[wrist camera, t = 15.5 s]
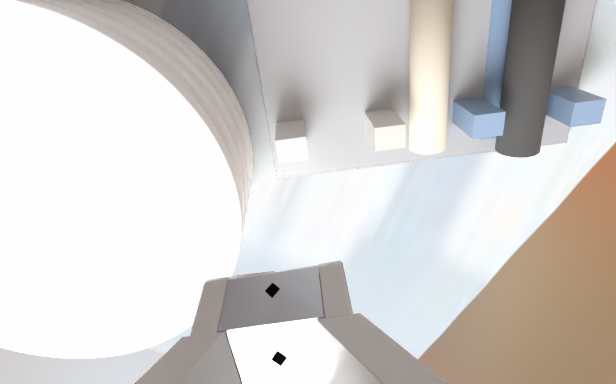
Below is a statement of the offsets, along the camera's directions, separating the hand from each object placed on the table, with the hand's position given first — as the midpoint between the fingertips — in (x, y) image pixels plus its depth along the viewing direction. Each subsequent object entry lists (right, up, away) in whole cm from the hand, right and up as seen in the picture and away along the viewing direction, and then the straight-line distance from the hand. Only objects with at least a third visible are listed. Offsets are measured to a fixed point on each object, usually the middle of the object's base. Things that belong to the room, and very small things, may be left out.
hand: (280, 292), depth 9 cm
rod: (+11, +13, +25) cm, 30 cm away
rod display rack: (+10, +14, +26) cm, 31 cm away
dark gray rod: (+18, +14, +25) cm, 34 cm away
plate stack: (-19, +6, +29) cm, 35 cm away
